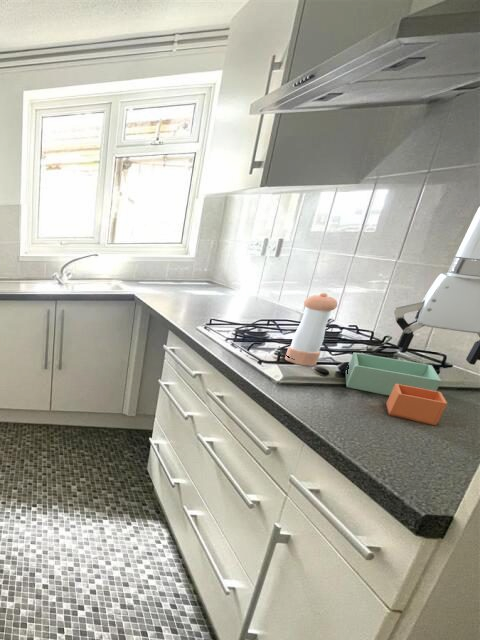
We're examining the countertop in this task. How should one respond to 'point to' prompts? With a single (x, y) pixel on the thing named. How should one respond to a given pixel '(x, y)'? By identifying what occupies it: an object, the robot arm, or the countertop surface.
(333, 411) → the countertop surface
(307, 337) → the pepper shaker
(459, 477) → the countertop surface
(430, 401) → the small bin
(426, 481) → the countertop surface
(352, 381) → the big bin
